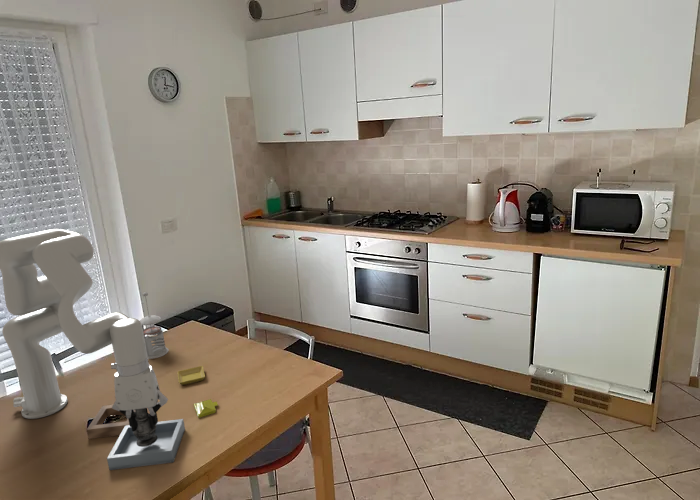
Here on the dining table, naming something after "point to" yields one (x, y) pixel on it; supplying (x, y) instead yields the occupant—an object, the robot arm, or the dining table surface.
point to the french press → (159, 346)
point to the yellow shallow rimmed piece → (191, 375)
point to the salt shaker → (144, 429)
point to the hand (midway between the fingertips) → (144, 426)
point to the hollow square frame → (105, 430)
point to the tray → (156, 453)
